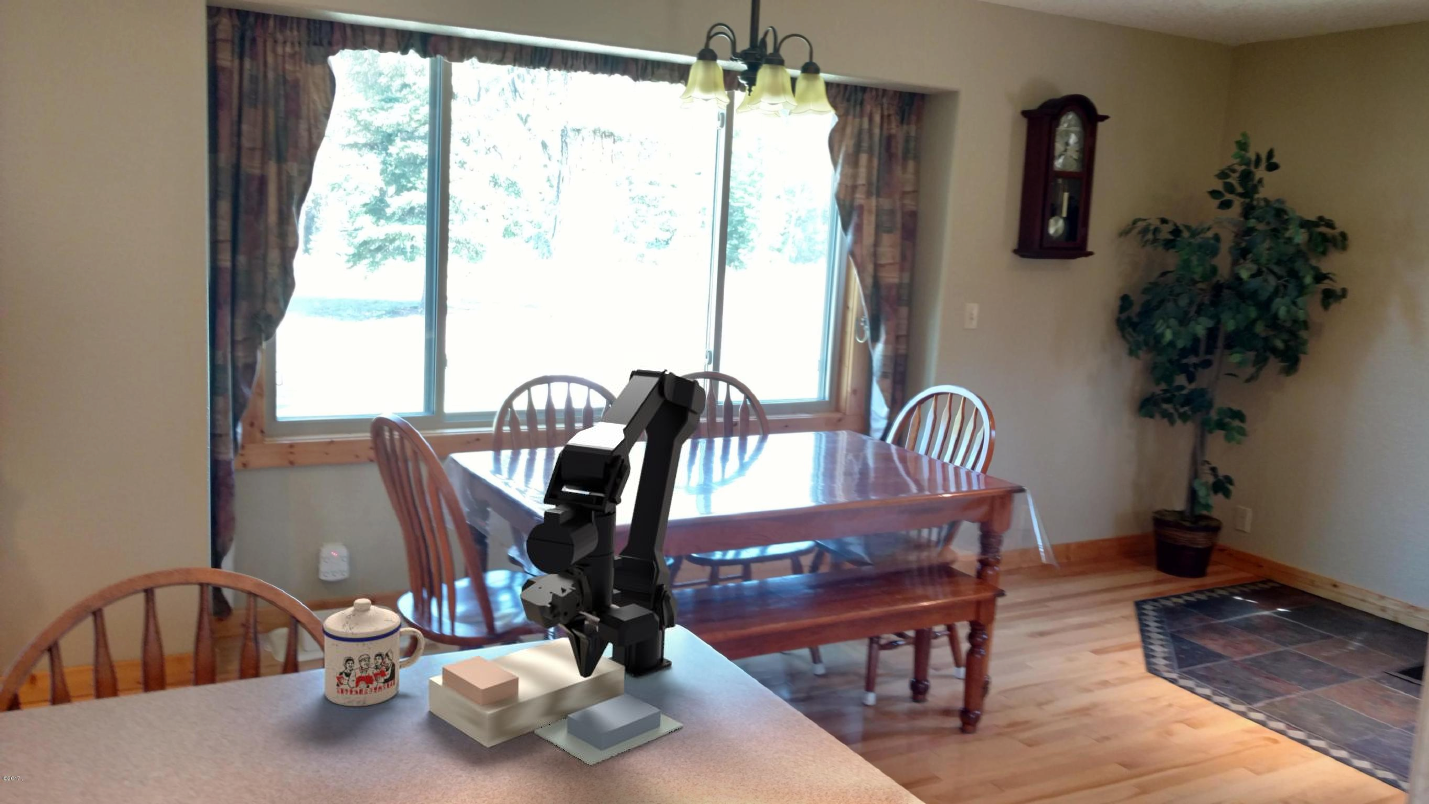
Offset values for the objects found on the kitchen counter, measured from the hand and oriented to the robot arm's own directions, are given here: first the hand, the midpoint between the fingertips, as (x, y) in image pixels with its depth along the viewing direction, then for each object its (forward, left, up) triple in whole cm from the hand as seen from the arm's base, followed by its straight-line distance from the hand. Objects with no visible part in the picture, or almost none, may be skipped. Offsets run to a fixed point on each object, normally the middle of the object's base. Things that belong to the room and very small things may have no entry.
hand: (585, 676), depth 127 cm
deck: (+3, -7, -5) cm, 9 cm away
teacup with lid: (+15, -22, -5) cm, 27 cm away
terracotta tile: (+10, -7, -1) cm, 12 cm away
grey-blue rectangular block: (0, +5, -3) cm, 6 cm away
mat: (0, +5, -5) cm, 7 cm away
